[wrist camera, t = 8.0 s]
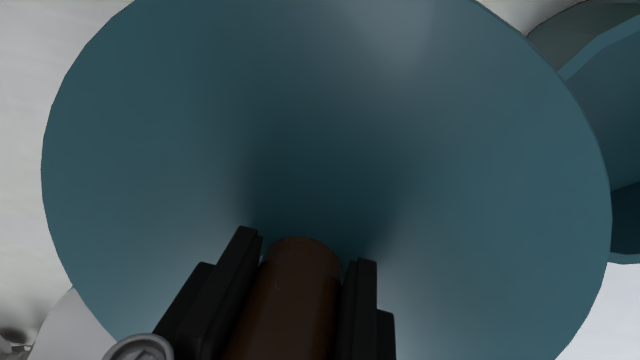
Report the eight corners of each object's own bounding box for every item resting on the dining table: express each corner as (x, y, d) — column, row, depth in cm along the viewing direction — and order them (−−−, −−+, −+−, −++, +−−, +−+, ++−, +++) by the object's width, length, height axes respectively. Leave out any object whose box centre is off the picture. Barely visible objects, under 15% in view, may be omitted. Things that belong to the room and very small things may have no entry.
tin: (447, 73, 30) (470, 99, 22) (692, -60, 24) (834, -86, 16) (522, 229, 34) (562, 294, 27) (740, 148, 29) (868, 201, 21)
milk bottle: (208, 232, 40) (68, 424, 22) (193, 284, 43) (62, 485, 25) (139, 205, 40) (-60, 376, 22) (130, 259, 43) (-49, 444, 25)
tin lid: (-29, 157, 13) (-318, 273, 8) (434, -239, 7) (595, -904, 2) (257, 442, 19) (206, 633, 13) (659, 341, 13) (876, 609, 7)
